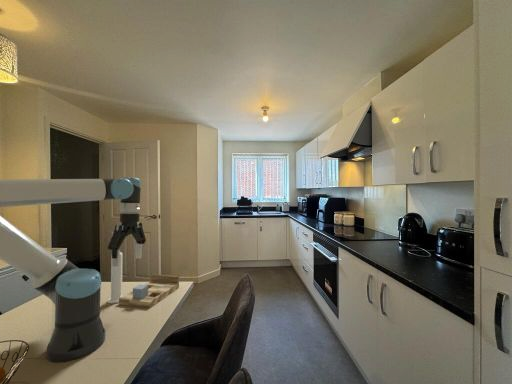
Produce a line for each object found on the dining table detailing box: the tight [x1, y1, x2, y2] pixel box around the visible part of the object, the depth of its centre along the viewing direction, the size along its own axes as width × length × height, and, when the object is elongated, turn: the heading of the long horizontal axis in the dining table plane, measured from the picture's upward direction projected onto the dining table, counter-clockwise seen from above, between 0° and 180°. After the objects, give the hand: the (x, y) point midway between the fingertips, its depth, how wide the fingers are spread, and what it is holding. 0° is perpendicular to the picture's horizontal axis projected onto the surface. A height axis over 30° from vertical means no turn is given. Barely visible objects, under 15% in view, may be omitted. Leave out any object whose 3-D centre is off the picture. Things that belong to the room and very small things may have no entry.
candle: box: [107, 251, 124, 304], centre depth 109 cm, size 7×7×25 cm
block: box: [132, 284, 148, 299], centre depth 107 cm, size 4×4×4 cm
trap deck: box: [118, 273, 180, 309], centre depth 114 cm, size 24×16×6 cm, turn 168°
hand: (127, 262), depth 100 cm, fingers open, 13 cm apart
